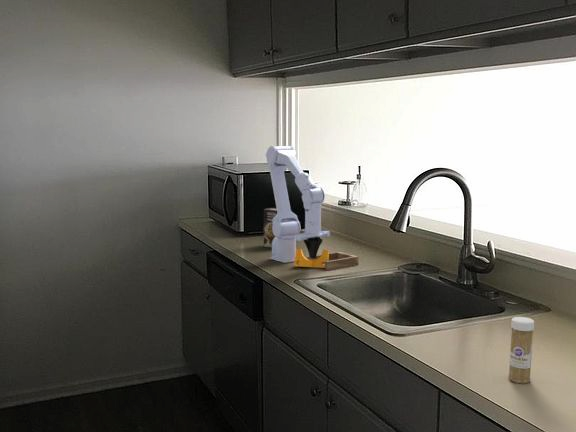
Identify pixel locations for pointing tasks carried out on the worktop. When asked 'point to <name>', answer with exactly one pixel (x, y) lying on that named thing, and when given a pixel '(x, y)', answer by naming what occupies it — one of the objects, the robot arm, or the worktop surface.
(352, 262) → the brown wooden tray
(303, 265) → the pipe clamp
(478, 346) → the worktop surface
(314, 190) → the robot arm
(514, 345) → the sprinkles bottle
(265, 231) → the coffee box
